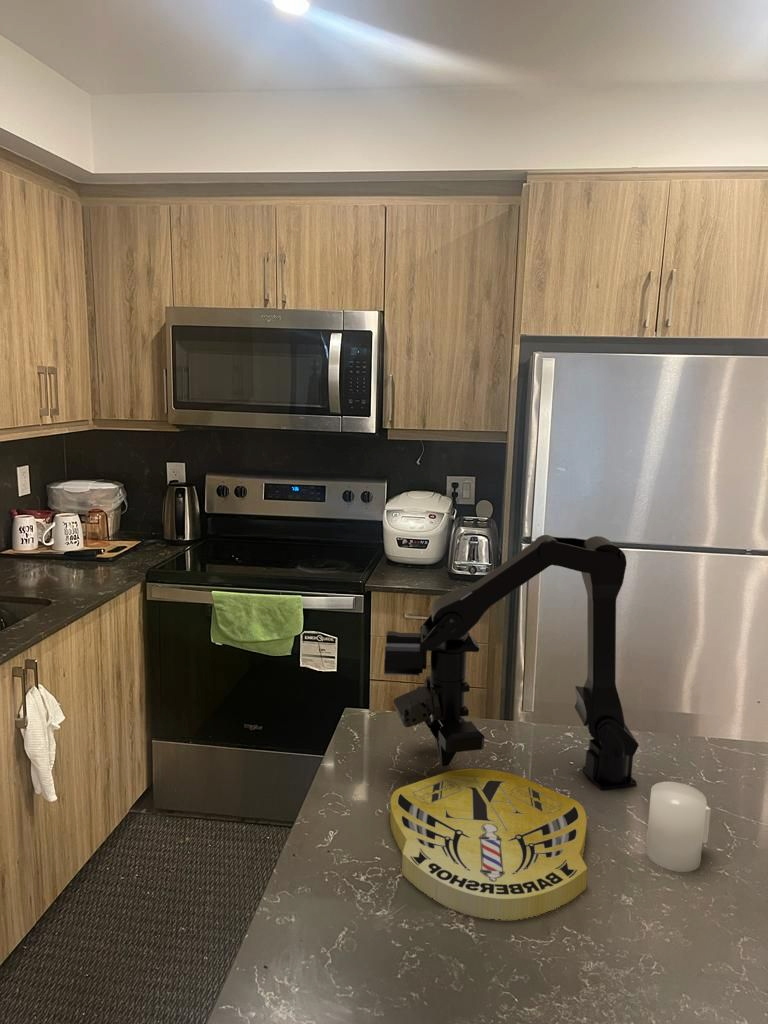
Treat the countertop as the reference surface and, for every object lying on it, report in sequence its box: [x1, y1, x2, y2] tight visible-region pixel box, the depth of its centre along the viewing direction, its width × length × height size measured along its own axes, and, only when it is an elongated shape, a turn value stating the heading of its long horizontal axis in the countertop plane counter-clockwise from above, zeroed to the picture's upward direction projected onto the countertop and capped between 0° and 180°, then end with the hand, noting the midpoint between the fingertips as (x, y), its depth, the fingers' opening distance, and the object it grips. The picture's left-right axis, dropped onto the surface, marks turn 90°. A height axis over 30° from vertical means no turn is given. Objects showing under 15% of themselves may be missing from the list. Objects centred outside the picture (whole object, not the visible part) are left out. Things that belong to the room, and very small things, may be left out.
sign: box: [389, 768, 588, 921], centre depth 104 cm, size 28×3×30 cm
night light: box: [645, 781, 712, 873], centre depth 102 cm, size 8×7×9 cm
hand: (444, 765), depth 122 cm, fingers closed
